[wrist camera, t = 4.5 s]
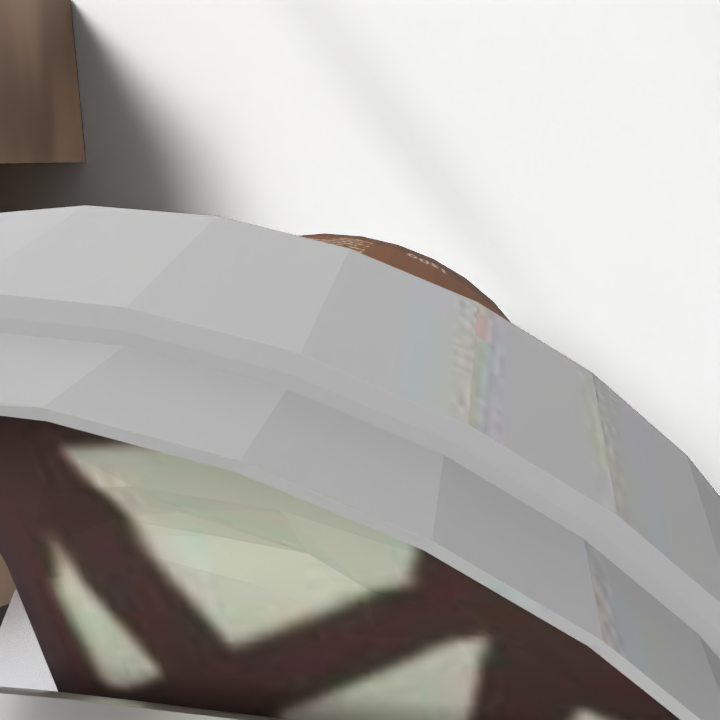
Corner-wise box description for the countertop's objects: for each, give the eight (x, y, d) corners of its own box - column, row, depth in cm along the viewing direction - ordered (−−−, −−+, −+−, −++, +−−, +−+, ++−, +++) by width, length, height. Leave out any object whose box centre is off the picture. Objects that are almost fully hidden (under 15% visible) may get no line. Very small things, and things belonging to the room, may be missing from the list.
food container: (615, 638, 15) (896, 1484, 6) (370, 644, 16) (265, 1357, 7) (595, 102, 11) (1524, -69, 1) (268, 162, 12) (-361, 277, 3)
